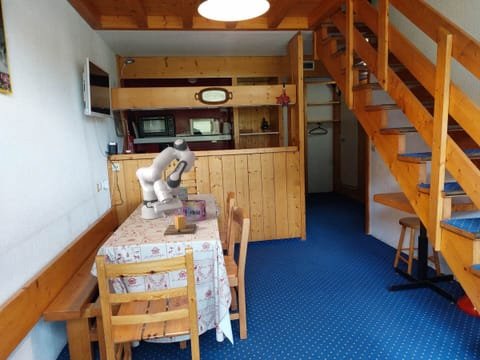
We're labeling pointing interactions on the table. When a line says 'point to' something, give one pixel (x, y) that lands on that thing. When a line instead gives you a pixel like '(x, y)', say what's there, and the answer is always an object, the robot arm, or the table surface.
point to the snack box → (183, 194)
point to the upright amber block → (180, 222)
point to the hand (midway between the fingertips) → (172, 216)
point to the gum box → (193, 209)
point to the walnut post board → (180, 230)
